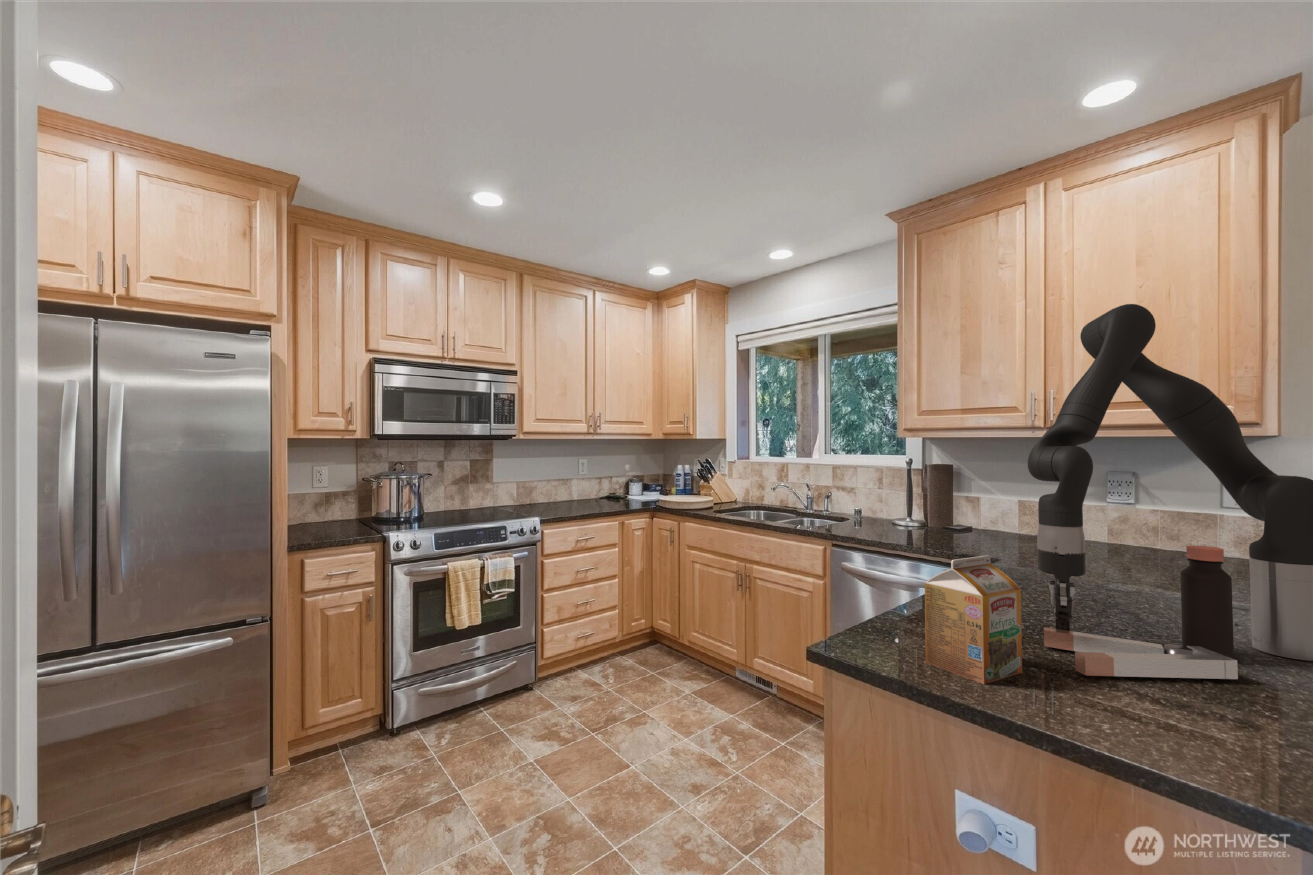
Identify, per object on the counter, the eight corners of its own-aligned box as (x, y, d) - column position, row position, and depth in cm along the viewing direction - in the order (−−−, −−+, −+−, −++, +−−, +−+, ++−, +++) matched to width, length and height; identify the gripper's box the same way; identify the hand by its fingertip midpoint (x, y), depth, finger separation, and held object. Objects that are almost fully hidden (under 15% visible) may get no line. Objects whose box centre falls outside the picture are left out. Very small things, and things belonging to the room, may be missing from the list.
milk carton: (984, 684, 89) (982, 565, 90) (925, 662, 99) (924, 555, 99) (1022, 672, 94) (1020, 560, 95) (963, 653, 104) (961, 550, 104)
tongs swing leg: (1190, 666, 96) (1190, 646, 96) (1195, 673, 93) (1194, 652, 93) (1044, 642, 108) (1044, 625, 108) (1044, 648, 105) (1043, 629, 105)
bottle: (1219, 652, 104) (1216, 545, 105) (1244, 665, 98) (1240, 551, 98) (1174, 648, 106) (1171, 543, 107) (1195, 660, 100) (1192, 549, 101)
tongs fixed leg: (1199, 663, 97) (1198, 646, 97) (1237, 679, 90) (1237, 660, 90) (1058, 660, 98) (1057, 643, 98) (1085, 675, 91) (1085, 657, 92)
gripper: (1036, 542, 115) (1038, 625, 115) (1038, 551, 104) (1040, 644, 104) (1082, 545, 111) (1084, 632, 111) (1088, 555, 100) (1090, 652, 100)
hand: (1062, 638), depth 107 cm, fingers closed
